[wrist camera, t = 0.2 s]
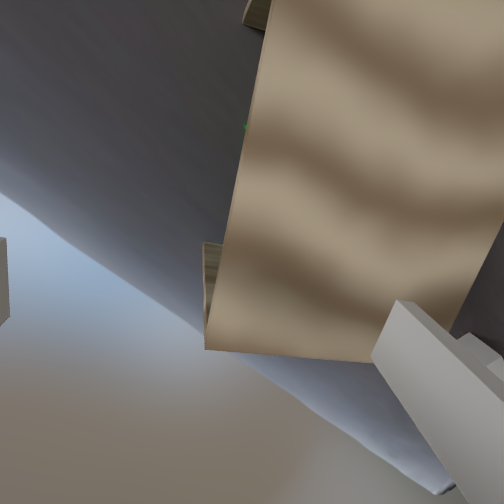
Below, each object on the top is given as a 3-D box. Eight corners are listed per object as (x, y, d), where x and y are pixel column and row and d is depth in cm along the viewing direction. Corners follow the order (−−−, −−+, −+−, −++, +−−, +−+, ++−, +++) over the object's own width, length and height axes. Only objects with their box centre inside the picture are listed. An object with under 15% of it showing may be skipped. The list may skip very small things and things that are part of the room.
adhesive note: (479, 354, 53) (512, 380, 48) (448, 373, 54) (477, 401, 48) (469, 331, 51) (502, 356, 45) (437, 351, 51) (465, 379, 46)
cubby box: (244, 11, 31) (305, -150, 13) (403, 63, 35) (616, -7, 17) (202, 249, 39) (204, 349, 21) (335, 269, 43) (431, 367, 25)
